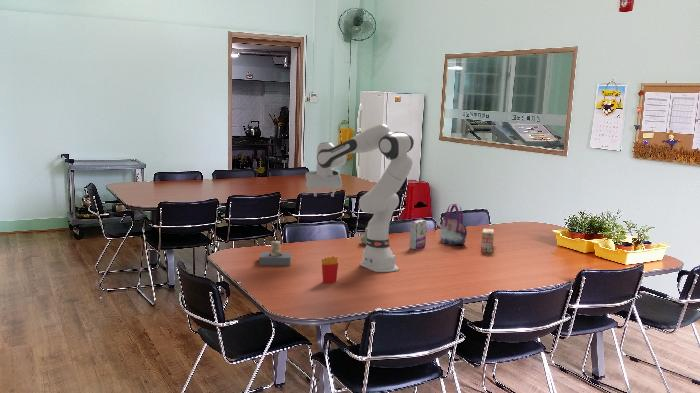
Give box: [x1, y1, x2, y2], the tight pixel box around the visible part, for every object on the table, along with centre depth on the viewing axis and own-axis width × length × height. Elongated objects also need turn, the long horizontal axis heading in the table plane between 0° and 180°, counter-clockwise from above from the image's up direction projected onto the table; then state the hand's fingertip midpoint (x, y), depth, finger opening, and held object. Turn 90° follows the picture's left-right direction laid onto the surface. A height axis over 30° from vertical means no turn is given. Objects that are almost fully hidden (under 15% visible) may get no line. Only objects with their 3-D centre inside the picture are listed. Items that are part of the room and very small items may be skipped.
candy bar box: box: [409, 219, 427, 250], centre depth 354 cm, size 11×5×16 cm, turn 143°
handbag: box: [439, 203, 468, 246], centre depth 369 cm, size 21×10×25 cm, turn 37°
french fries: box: [321, 256, 339, 284], centre depth 277 cm, size 8×4×12 cm, turn 124°
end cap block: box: [258, 251, 292, 267], centre depth 309 cm, size 16×12×4 cm
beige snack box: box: [480, 228, 495, 254], centre depth 359 cm, size 21×6×12 cm, turn 164°
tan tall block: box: [270, 240, 281, 256], centre depth 308 cm, size 4×4×10 cm
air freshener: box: [360, 226, 368, 246], centre depth 359 cm, size 11×8×10 cm
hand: (323, 196), depth 328 cm, fingers open, 8 cm apart
